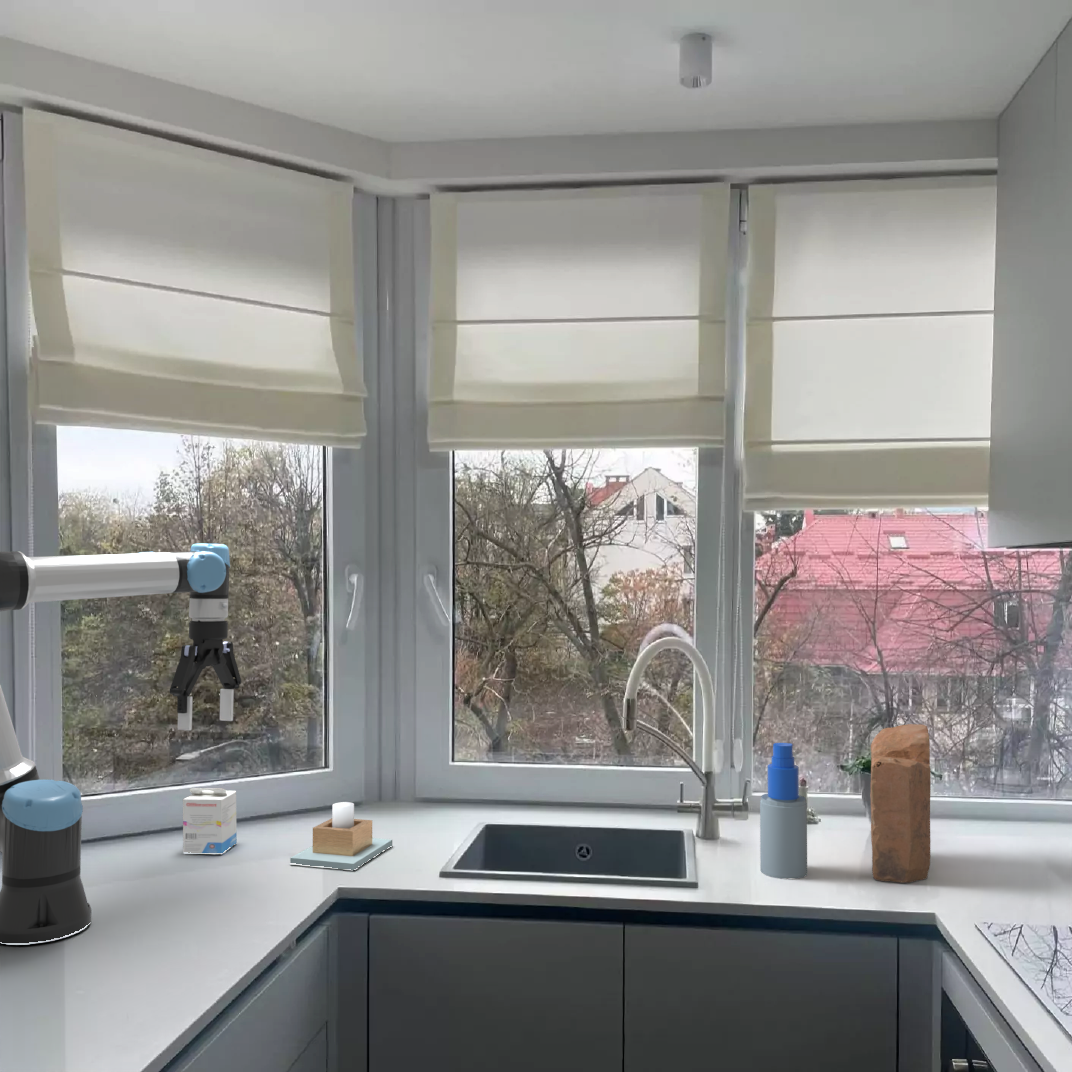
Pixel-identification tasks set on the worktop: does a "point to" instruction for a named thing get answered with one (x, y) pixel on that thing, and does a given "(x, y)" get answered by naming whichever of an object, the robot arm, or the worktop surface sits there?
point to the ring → (342, 838)
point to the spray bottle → (783, 819)
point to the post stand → (342, 819)
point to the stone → (900, 803)
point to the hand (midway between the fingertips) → (206, 725)
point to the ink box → (209, 820)
